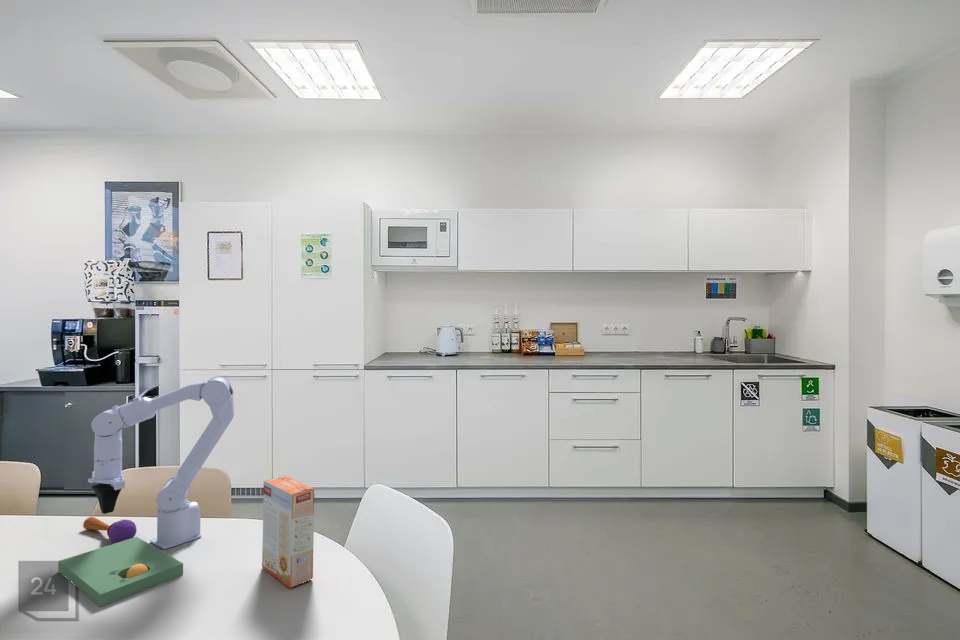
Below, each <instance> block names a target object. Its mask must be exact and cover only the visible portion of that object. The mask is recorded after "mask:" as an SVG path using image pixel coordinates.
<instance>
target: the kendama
mask: <svg viewBox="0 0 960 640" xmlns="http://www.w3.org/2000/svg"><path fill="white" fill-rule="evenodd" d="M83 521H84V522H83V523H82V527H83V528H84V530H86V529H87V530H88V531H89V530H90V531H106V534H107V537H108V539H109V541H110V542H111V543H112V544H115V543H118V542H121V541H124V540H128V539H131V538H134V537H136V535H137V534H136V533H137V530H138V529H137V524H135V522H134V521H132V520H131V519H130V520H129V519H120V520H118V521H116V522H113V523H112V524H110V525H109V524H107V523H105V522H104V521H102V520H100V519H98V518H96V517H95V516H90V517H88V518H86V519H85V520H83Z"/></svg>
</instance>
